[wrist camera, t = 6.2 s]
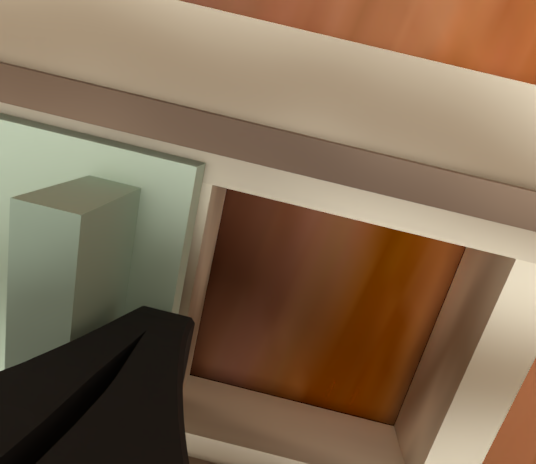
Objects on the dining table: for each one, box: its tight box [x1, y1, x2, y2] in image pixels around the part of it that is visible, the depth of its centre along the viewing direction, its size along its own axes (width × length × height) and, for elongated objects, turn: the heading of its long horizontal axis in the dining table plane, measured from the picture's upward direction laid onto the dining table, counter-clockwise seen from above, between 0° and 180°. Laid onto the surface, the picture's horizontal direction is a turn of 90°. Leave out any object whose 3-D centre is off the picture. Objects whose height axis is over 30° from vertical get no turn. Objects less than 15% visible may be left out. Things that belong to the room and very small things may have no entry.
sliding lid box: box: [0, 0, 536, 464], centre depth 11 cm, size 15×18×3 cm
